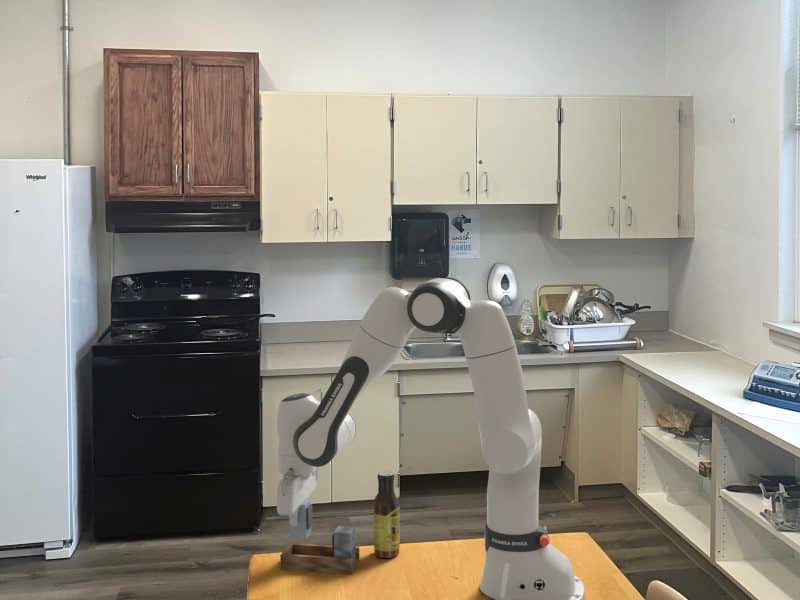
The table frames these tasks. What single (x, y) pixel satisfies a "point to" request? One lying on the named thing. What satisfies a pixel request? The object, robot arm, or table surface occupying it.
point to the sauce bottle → (386, 518)
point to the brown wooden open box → (324, 554)
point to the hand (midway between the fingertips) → (298, 520)
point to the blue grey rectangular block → (302, 521)
